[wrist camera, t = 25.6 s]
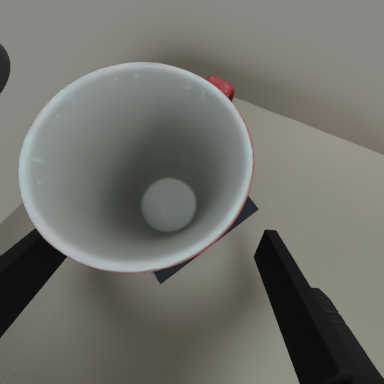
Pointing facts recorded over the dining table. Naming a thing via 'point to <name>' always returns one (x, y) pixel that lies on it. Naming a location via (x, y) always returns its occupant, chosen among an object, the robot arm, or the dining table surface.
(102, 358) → the dining table surface
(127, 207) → the mug
